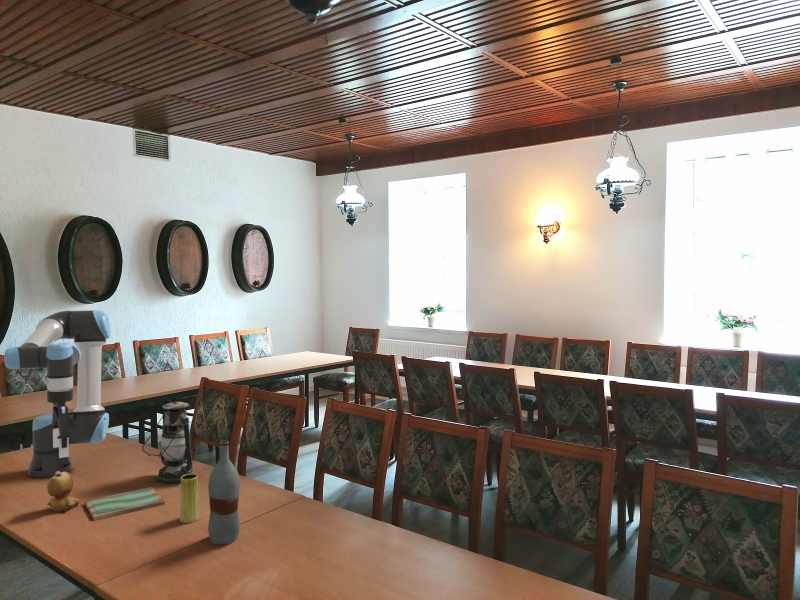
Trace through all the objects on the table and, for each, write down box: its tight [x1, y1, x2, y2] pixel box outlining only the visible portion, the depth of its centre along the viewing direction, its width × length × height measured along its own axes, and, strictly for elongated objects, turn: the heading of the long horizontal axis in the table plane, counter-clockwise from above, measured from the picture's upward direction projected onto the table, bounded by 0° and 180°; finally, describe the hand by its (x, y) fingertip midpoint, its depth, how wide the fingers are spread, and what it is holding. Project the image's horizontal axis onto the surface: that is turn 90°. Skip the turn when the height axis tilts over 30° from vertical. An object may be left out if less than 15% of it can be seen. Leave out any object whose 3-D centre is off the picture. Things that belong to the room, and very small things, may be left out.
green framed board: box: [84, 486, 166, 521], centre depth 199 cm, size 16×22×1 cm
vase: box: [179, 473, 200, 524], centre depth 187 cm, size 6×6×14 cm
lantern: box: [141, 401, 197, 485], centre depth 222 cm, size 19×19×30 cm
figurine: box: [46, 471, 80, 513], centre depth 193 cm, size 10×8×15 cm
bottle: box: [207, 440, 241, 546], centre depth 174 cm, size 9×9×30 cm
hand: (60, 452), depth 193 cm, fingers open, 13 cm apart
